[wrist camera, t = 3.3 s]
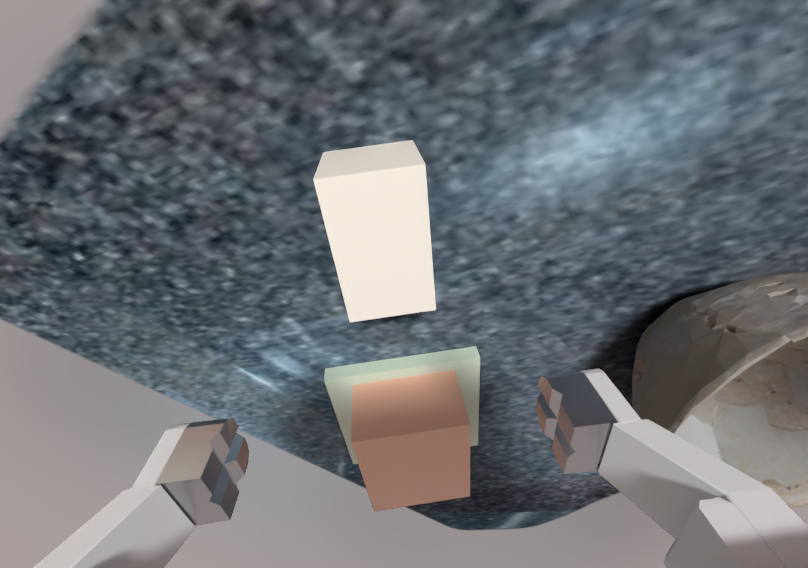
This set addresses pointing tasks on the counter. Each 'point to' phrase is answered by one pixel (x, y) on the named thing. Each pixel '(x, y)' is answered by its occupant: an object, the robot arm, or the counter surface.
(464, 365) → the peach layered block
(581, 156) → the counter surface
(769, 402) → the ceramic bowl
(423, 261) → the cream brick
